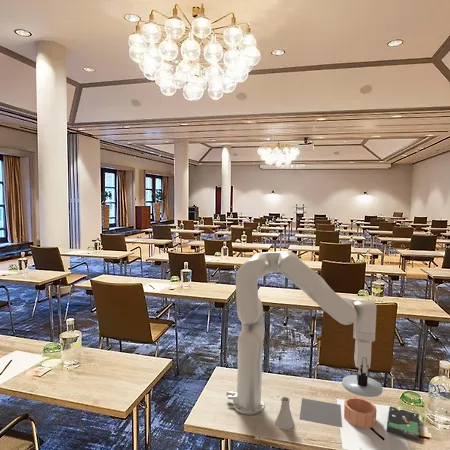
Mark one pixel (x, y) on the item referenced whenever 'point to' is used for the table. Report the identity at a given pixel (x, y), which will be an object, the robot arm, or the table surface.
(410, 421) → the disk drive
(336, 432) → the table surface
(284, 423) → the flask
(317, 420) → the mat
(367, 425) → the bowl
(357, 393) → the lid
